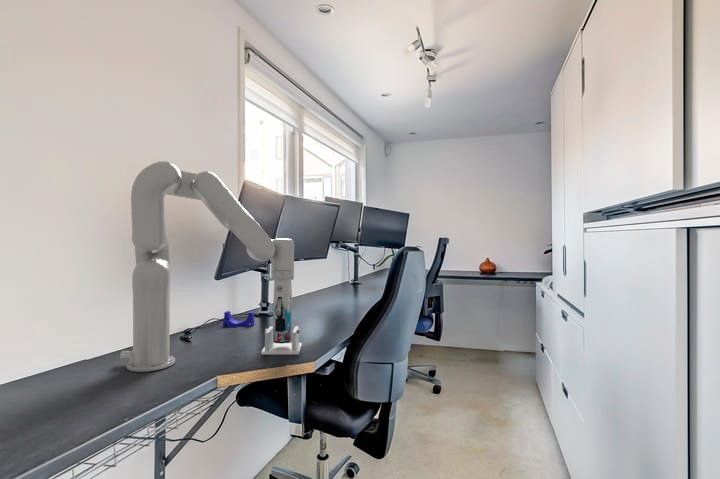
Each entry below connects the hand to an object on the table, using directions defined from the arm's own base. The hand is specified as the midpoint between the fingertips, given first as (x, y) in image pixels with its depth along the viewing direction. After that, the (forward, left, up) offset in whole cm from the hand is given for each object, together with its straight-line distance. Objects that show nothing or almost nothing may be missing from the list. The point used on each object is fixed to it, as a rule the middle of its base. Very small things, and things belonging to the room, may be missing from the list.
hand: (281, 328), depth 132 cm
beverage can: (0, 0, -5) cm, 5 cm away
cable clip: (-24, +37, -8) cm, 44 cm away
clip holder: (0, 0, -7) cm, 7 cm away
